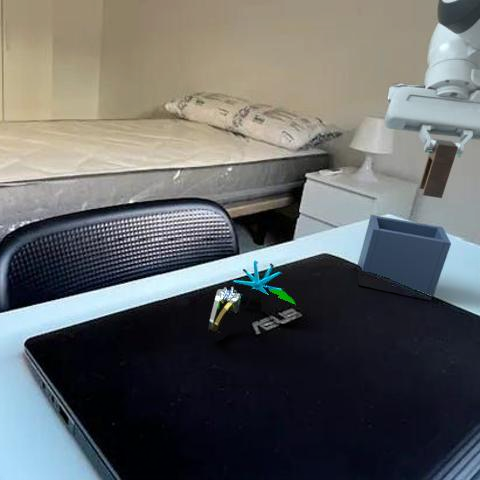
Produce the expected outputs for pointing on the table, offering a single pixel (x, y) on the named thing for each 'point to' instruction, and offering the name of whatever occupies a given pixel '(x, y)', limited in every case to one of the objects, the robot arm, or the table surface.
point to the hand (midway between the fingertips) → (443, 152)
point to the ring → (232, 302)
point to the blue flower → (260, 284)
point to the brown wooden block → (438, 168)
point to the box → (405, 252)
